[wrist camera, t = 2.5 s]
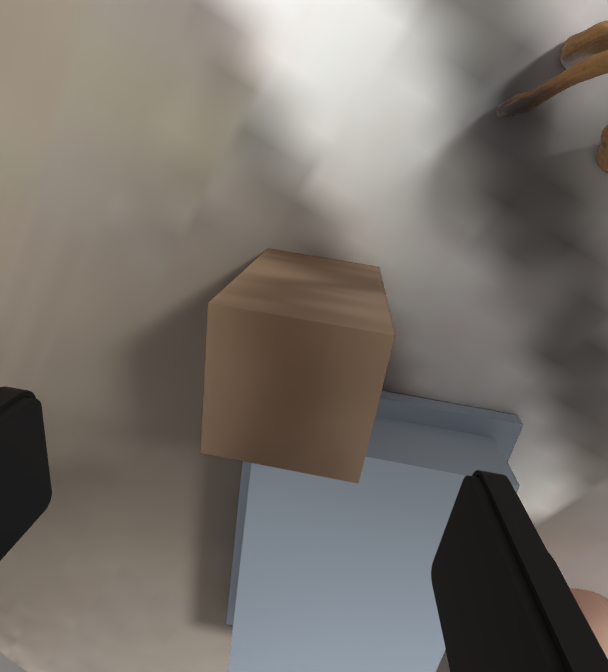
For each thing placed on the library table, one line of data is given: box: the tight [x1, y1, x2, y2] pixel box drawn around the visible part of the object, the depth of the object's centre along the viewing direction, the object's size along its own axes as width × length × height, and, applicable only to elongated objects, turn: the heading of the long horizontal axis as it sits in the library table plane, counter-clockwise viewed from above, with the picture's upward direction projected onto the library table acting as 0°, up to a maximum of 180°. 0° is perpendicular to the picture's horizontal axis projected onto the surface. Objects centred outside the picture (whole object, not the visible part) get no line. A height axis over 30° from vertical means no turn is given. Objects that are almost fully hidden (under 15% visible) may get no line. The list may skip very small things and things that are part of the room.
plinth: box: [226, 391, 523, 672], centre depth 22 cm, size 13×19×4 cm
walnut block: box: [201, 249, 395, 484], centre depth 15 cm, size 5×5×8 cm
